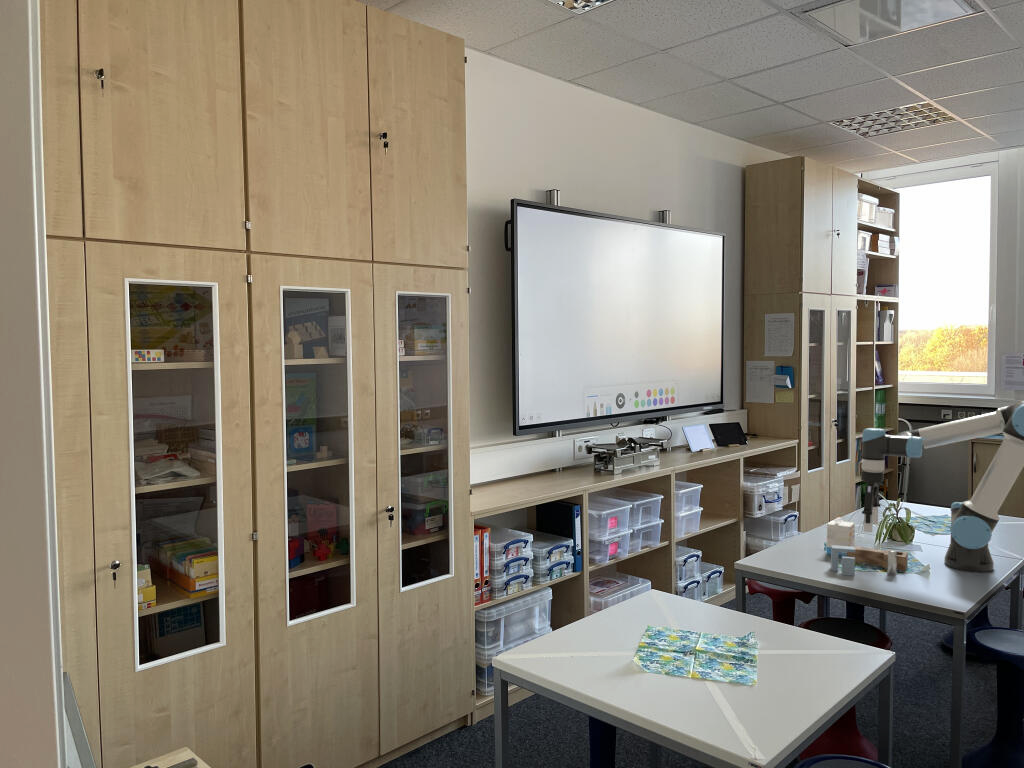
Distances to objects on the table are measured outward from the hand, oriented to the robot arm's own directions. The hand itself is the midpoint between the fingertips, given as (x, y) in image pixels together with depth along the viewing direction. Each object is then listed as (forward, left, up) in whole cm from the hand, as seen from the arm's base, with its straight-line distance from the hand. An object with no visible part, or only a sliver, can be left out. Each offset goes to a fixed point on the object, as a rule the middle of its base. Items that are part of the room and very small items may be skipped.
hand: (870, 528), depth 271 cm
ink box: (+12, -9, -13) cm, 20 cm away
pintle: (-8, +10, -13) cm, 18 cm away
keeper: (+6, +16, -13) cm, 22 cm away
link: (-2, 0, -13) cm, 13 cm away
